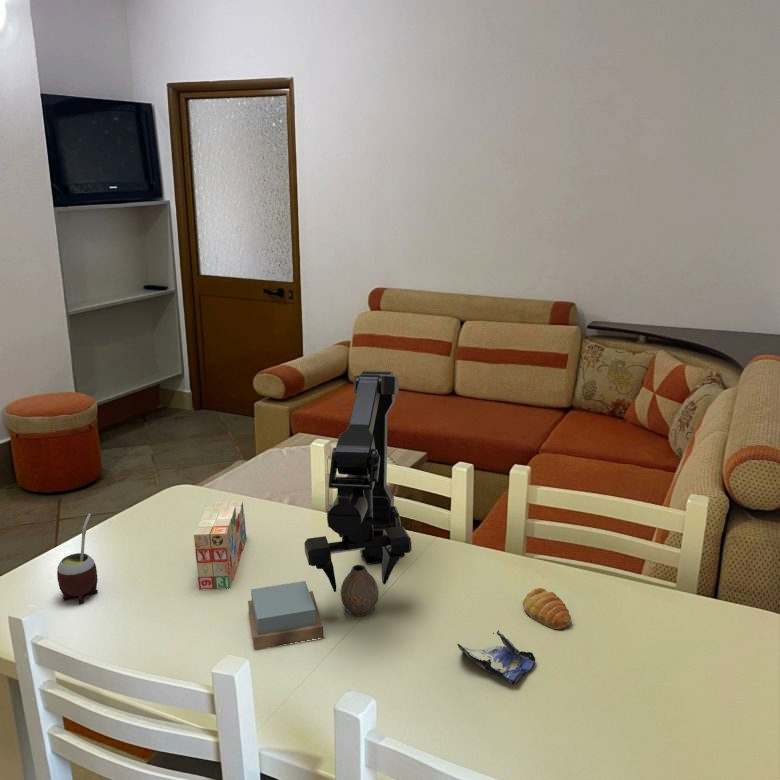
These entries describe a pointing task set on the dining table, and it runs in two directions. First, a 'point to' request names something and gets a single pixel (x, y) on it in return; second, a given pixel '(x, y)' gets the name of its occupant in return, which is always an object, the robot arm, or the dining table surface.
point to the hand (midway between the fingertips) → (359, 587)
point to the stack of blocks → (219, 544)
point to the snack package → (504, 660)
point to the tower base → (286, 631)
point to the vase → (359, 591)
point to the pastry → (546, 609)
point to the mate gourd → (77, 573)
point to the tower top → (283, 607)
